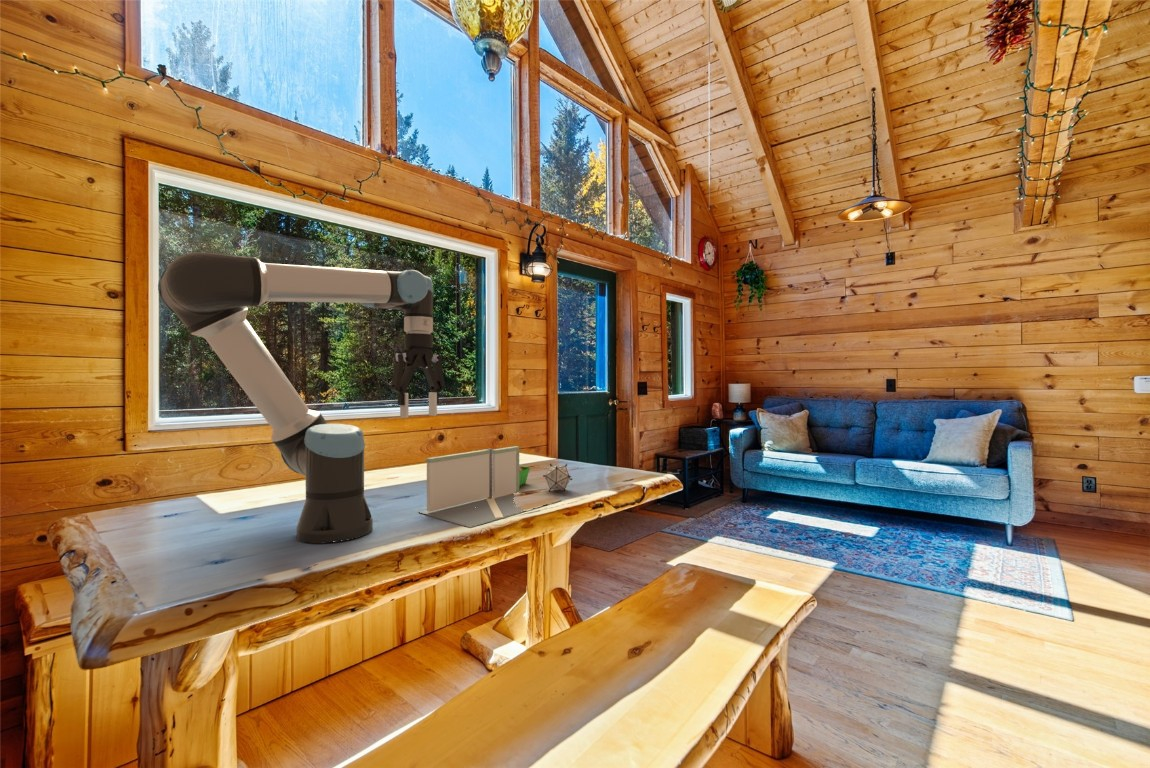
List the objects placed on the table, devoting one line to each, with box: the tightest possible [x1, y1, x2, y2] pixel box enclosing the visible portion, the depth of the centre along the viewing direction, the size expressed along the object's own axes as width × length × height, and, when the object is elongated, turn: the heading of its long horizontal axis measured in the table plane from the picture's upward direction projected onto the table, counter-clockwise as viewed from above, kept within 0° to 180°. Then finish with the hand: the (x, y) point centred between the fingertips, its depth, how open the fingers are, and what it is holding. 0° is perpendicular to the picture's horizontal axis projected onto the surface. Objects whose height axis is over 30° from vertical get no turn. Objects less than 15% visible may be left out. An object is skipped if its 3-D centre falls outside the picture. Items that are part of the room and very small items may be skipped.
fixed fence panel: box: [492, 445, 520, 497], centre depth 148 cm, size 9×2×14 cm, turn 141°
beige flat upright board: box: [425, 447, 493, 512], centre depth 136 cm, size 21×2×14 cm, turn 141°
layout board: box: [419, 492, 562, 529], centre depth 135 cm, size 32×20×1 cm, turn 141°
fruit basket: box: [519, 465, 531, 487], centre depth 161 cm, size 11×9×11 cm
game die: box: [542, 463, 573, 492], centre depth 154 cm, size 9×8×10 cm
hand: (418, 416), depth 140 cm, fingers open, 8 cm apart
